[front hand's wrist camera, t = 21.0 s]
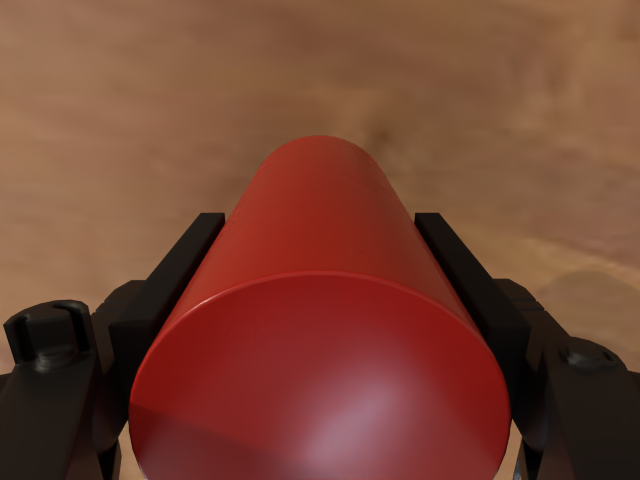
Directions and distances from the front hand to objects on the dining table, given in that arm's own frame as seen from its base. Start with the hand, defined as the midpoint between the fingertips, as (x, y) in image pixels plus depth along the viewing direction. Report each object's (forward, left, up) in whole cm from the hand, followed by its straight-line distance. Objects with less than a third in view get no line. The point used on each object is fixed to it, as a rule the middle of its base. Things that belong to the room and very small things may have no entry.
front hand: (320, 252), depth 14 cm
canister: (0, 0, -5) cm, 5 cm away
